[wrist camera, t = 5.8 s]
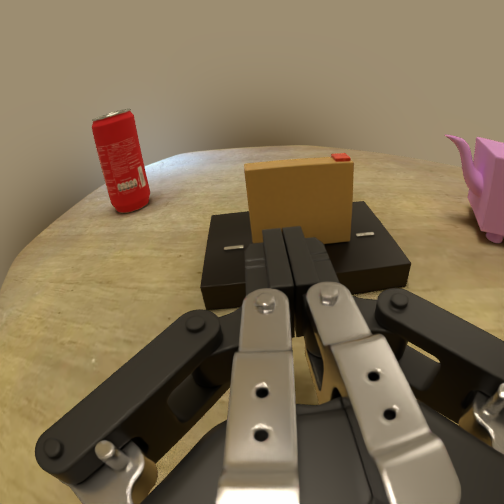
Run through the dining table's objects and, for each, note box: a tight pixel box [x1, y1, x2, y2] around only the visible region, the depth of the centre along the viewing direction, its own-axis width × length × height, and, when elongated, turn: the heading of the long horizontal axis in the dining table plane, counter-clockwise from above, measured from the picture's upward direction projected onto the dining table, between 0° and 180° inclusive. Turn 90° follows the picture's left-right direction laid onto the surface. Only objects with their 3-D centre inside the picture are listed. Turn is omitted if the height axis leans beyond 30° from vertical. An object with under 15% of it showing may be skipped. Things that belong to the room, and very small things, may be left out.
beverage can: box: [92, 109, 150, 213], centre depth 34 cm, size 5×5×12 cm
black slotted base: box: [200, 201, 411, 310], centre depth 23 cm, size 14×12×2 cm
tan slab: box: [244, 153, 354, 244], centre depth 21 cm, size 7×1×6 cm, turn 92°
